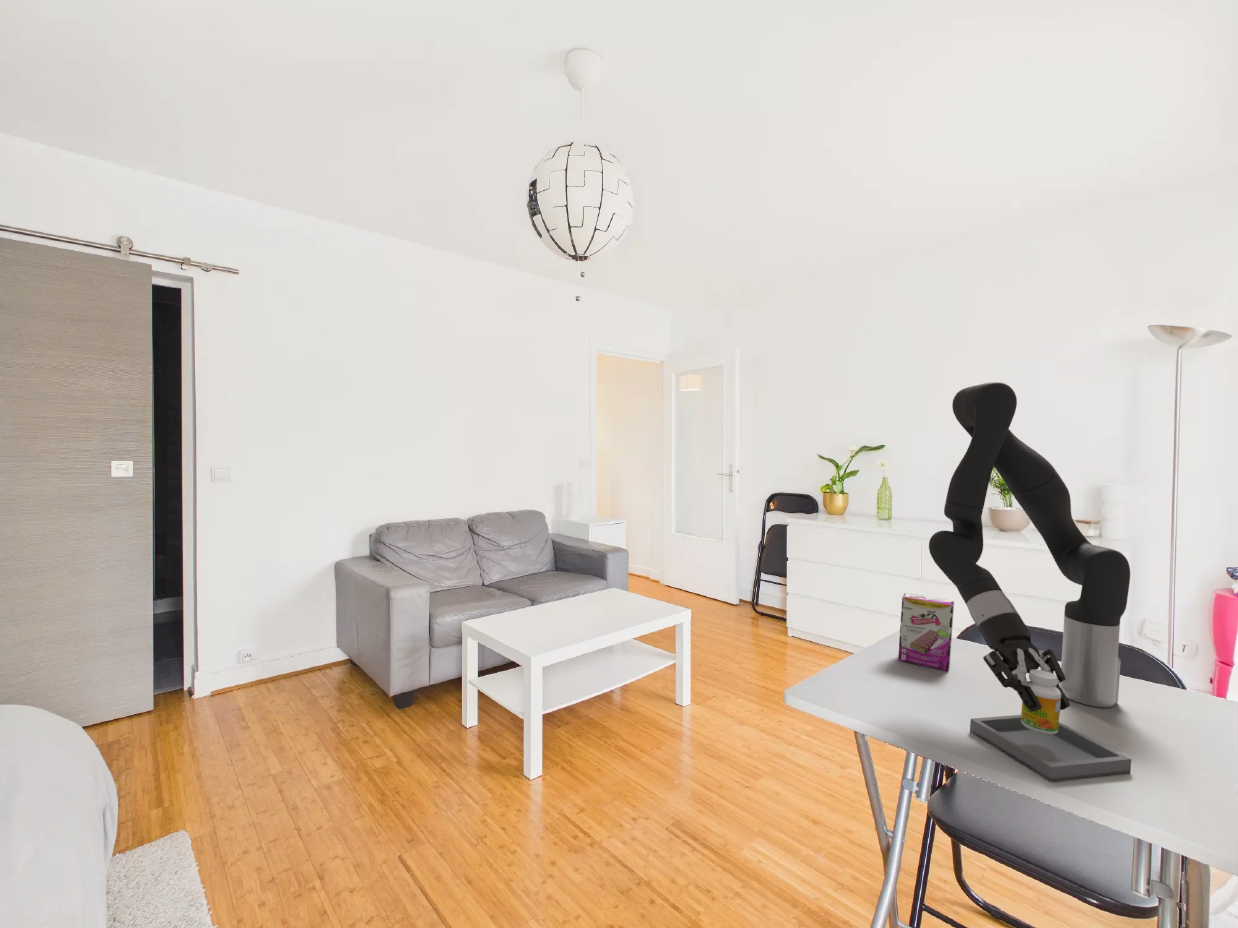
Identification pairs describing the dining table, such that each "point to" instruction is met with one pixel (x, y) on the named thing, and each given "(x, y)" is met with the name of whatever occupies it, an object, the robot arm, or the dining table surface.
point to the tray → (1051, 749)
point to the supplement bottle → (1043, 703)
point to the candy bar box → (926, 631)
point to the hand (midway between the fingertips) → (1050, 708)
